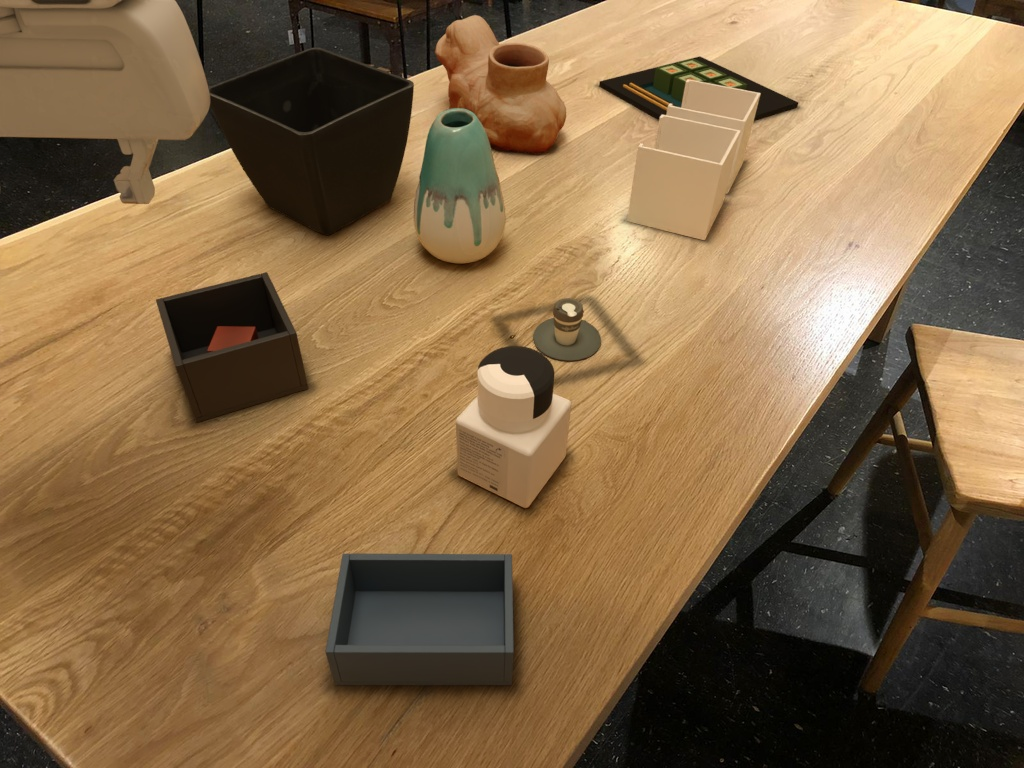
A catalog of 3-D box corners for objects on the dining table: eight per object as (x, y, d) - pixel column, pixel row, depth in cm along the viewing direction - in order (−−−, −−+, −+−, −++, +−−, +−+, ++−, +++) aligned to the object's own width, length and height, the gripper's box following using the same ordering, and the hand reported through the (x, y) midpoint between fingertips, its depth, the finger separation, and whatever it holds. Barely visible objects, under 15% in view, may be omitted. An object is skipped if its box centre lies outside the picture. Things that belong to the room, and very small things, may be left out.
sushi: (599, 86, 140) (601, 65, 137) (699, 60, 150) (702, 41, 148) (693, 139, 125) (697, 117, 122) (797, 107, 135) (803, 86, 133)
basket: (196, 423, 76) (175, 366, 71) (175, 355, 83) (155, 299, 78) (308, 388, 80) (296, 332, 75) (279, 326, 87) (267, 271, 82)
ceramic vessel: (482, 89, 137) (482, 0, 127) (582, 142, 123) (591, 47, 113) (418, 108, 131) (413, 16, 121) (516, 167, 116) (519, 68, 106)
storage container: (704, 240, 103) (722, 165, 95) (626, 221, 106) (638, 146, 98) (743, 162, 120) (760, 93, 112) (675, 147, 123) (687, 79, 115)
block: (216, 379, 80) (206, 350, 77) (226, 354, 83) (217, 325, 80) (254, 380, 80) (246, 351, 77) (263, 355, 83) (255, 326, 80)
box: (334, 685, 57) (324, 652, 53) (350, 588, 63) (342, 553, 59) (511, 685, 57) (513, 652, 54) (510, 589, 63) (512, 553, 60)
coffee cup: (590, 299, 92) (594, 265, 89) (636, 361, 84) (643, 326, 81) (497, 320, 89) (497, 285, 86) (536, 386, 81) (539, 351, 78)
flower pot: (325, 258, 97) (304, 132, 86) (230, 209, 105) (199, 88, 94) (425, 199, 109) (418, 81, 97) (332, 159, 117) (315, 46, 105)
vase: (450, 285, 94) (446, 148, 82) (398, 244, 100) (386, 111, 88) (523, 253, 99) (528, 121, 87) (469, 216, 106) (467, 87, 93)
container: (499, 425, 77) (501, 324, 68) (566, 456, 74) (578, 355, 65) (456, 476, 72) (452, 374, 63) (527, 511, 69) (533, 409, 60)
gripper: (-312, -41, 35) (-142, 223, 44) (141, -30, 35) (213, 228, 45) (-218, -75, 39) (-82, 170, 49) (182, -65, 40) (240, 176, 50)
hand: (62, 198), depth 47 cm, fingers open, 8 cm apart
